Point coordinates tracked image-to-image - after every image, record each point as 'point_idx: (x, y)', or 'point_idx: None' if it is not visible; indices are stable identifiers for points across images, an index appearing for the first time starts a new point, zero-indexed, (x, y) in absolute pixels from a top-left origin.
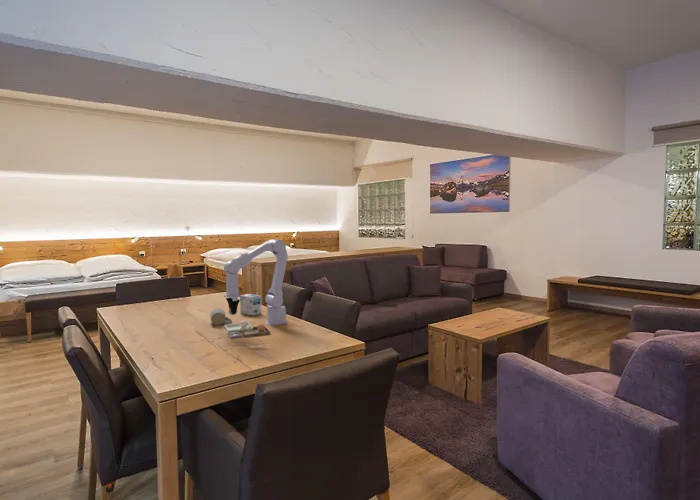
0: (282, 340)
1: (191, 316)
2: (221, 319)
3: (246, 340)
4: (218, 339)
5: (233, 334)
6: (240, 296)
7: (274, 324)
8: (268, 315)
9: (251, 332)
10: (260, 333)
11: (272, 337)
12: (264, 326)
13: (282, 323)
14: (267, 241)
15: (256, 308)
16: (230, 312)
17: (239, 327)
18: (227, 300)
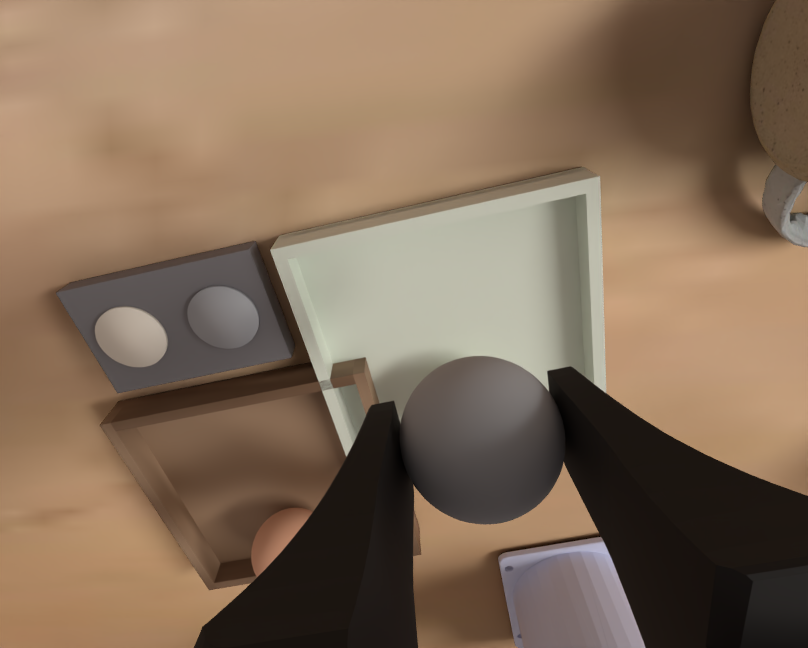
0: (81, 619)
1: None
2: (800, 120)
3: (53, 419)
4: (58, 139)
5: (172, 312)
6: None
7: (505, 590)
8: (570, 635)
9: (280, 453)
10: (175, 530)
11: (155, 573)
12: None
13: (512, 630)
14: None
15: None
16: (411, 398)
17: (504, 343)
18: (331, 644)
